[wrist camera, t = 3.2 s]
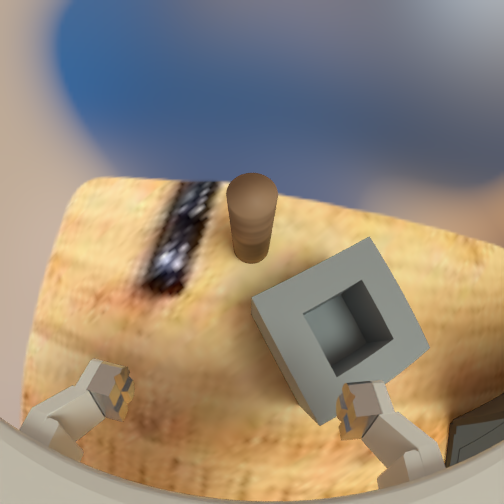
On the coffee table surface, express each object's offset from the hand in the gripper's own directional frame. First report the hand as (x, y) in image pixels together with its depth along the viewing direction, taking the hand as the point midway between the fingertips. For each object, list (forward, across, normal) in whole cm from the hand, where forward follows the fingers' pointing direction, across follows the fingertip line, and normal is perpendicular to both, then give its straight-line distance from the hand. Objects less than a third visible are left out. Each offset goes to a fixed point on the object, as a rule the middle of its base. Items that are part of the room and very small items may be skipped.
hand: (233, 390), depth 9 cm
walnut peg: (+20, 0, -3) cm, 20 cm away
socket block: (+14, +7, -9) cm, 18 cm away
